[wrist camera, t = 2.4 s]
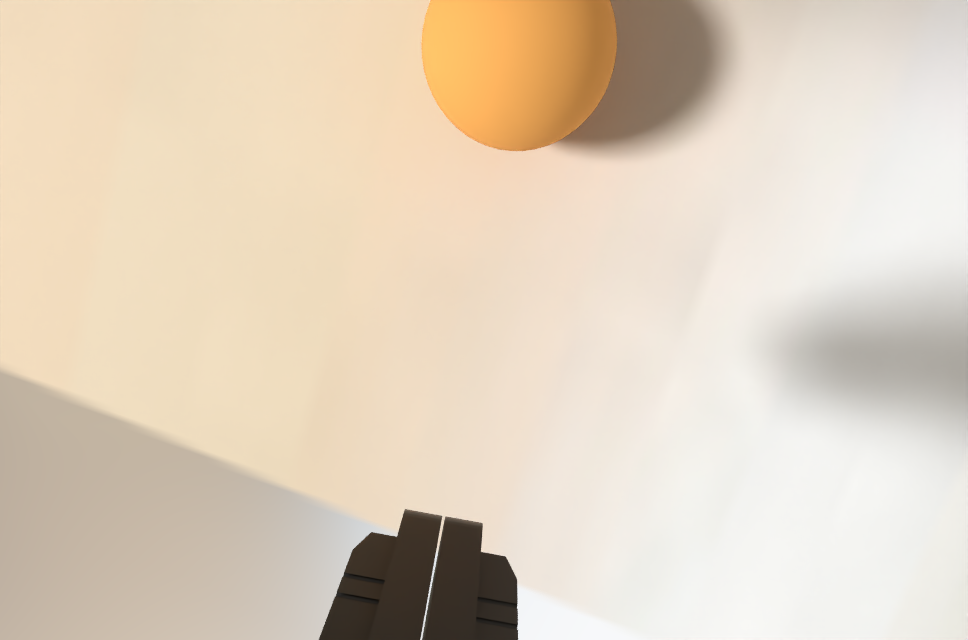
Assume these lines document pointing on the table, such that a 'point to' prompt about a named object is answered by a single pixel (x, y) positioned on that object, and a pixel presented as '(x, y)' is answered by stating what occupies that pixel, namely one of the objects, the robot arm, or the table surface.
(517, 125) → the ball
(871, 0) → the table surface
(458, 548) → the robot arm
